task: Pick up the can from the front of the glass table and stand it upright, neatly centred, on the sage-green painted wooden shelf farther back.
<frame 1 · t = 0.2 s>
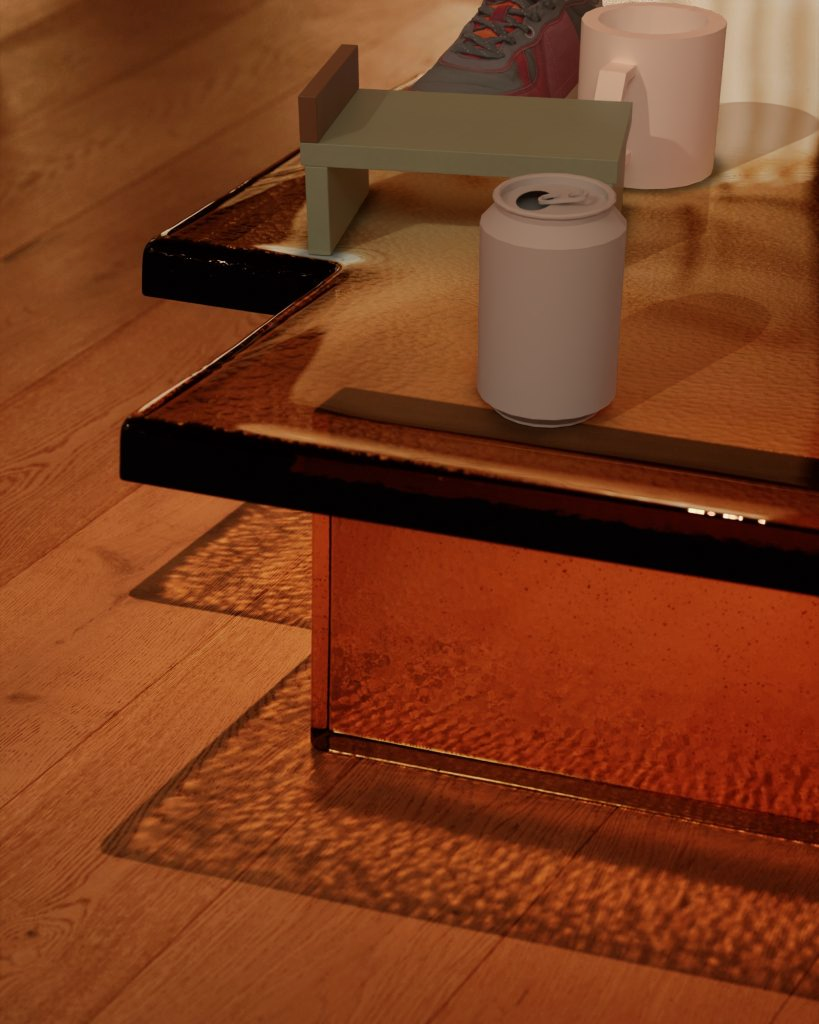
sneaker: (512, 119, 129), on the table
mug: (635, 172, 118), on the table
shelf: (470, 230, 108), on the table
can: (545, 405, 87), on the table
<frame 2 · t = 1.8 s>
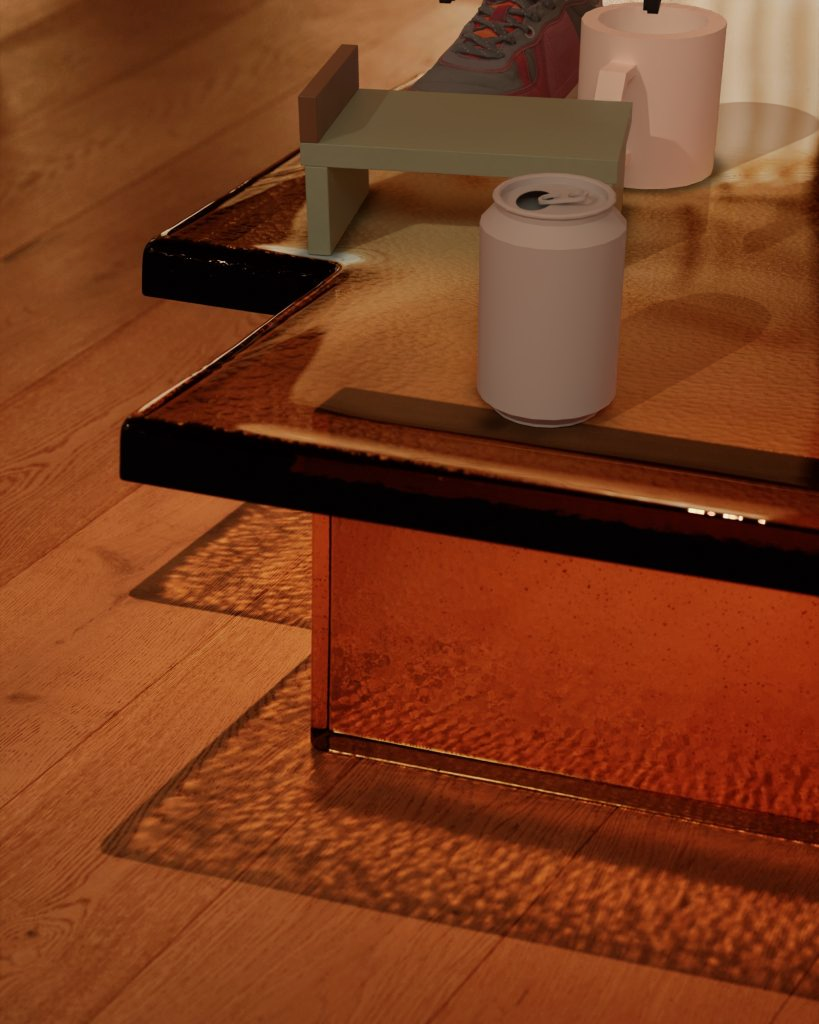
hand: (550, 1, 76), 21 cm above the table, tool pointing down, fingers open, 9 cm apart
nothing on the table moved.
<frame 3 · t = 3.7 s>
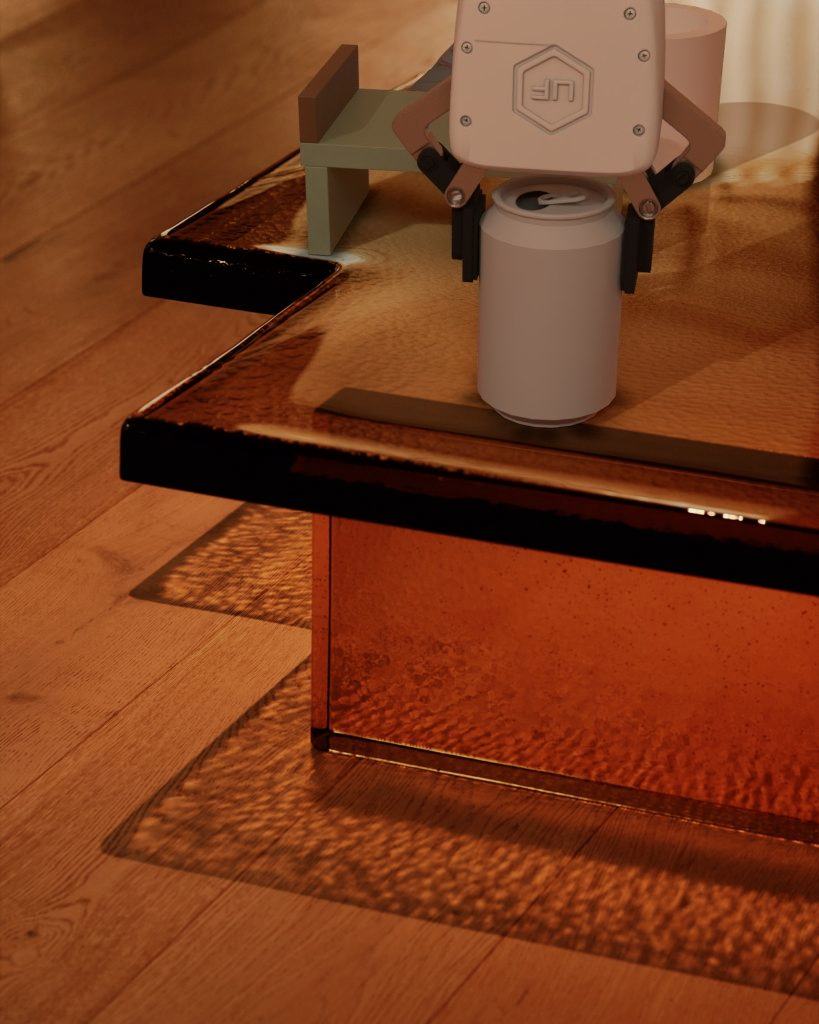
hand: (550, 276, 83), 7 cm above the table, tool pointing down, fingers closed on can, 7 cm apart
can: (545, 405, 87), on the table, touching gripper
everything else where it was.
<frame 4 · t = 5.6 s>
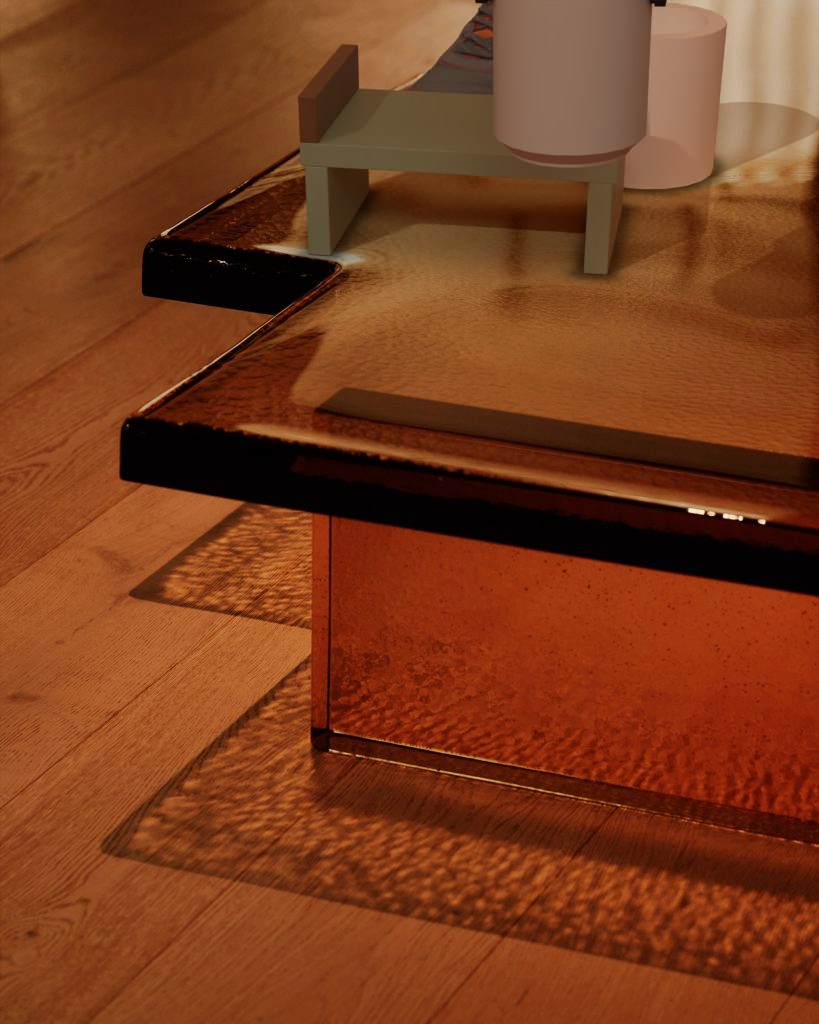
can: (569, 152, 79), point 14 cm above the table, touching gripper
everything else where it was.
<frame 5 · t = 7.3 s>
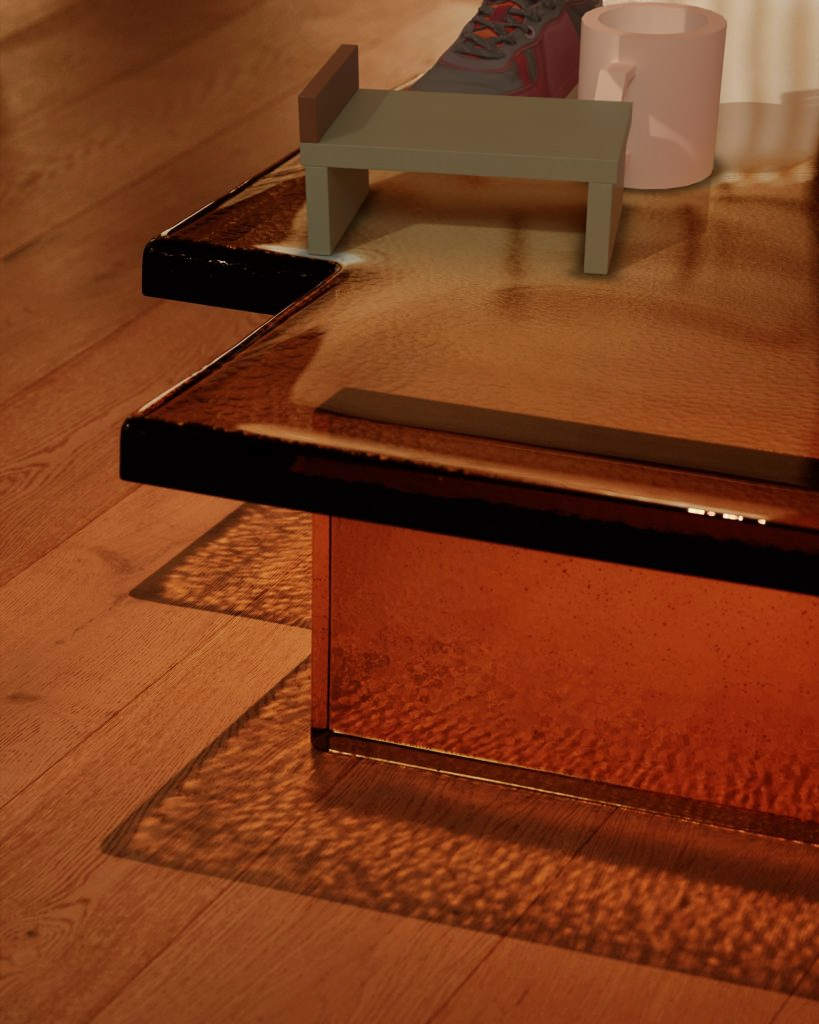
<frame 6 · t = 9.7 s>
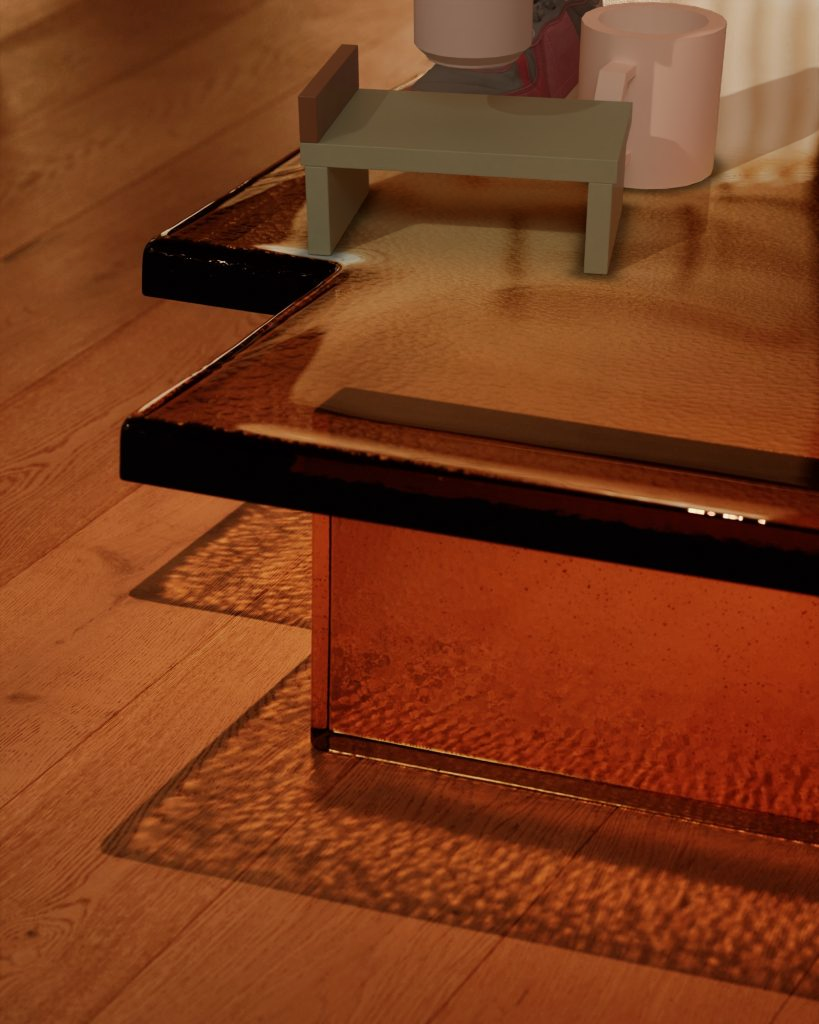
can: (472, 59, 102), point 12 cm above the table, touching gripper
everything else where it was.
when the fingers open (15 cm above the table, at t = 11.3 s): can stays where it is, resting on shelf.
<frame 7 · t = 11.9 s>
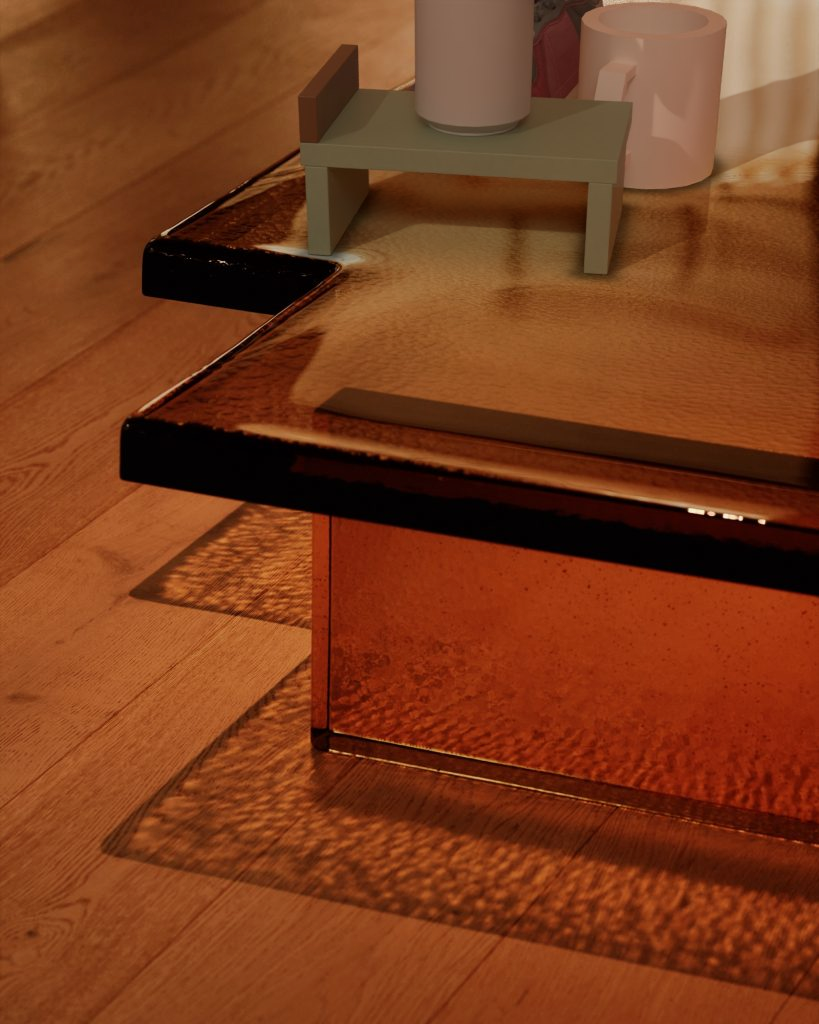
can: (472, 124, 104), point 7 cm above the table, touching shelf
everything else where it was.
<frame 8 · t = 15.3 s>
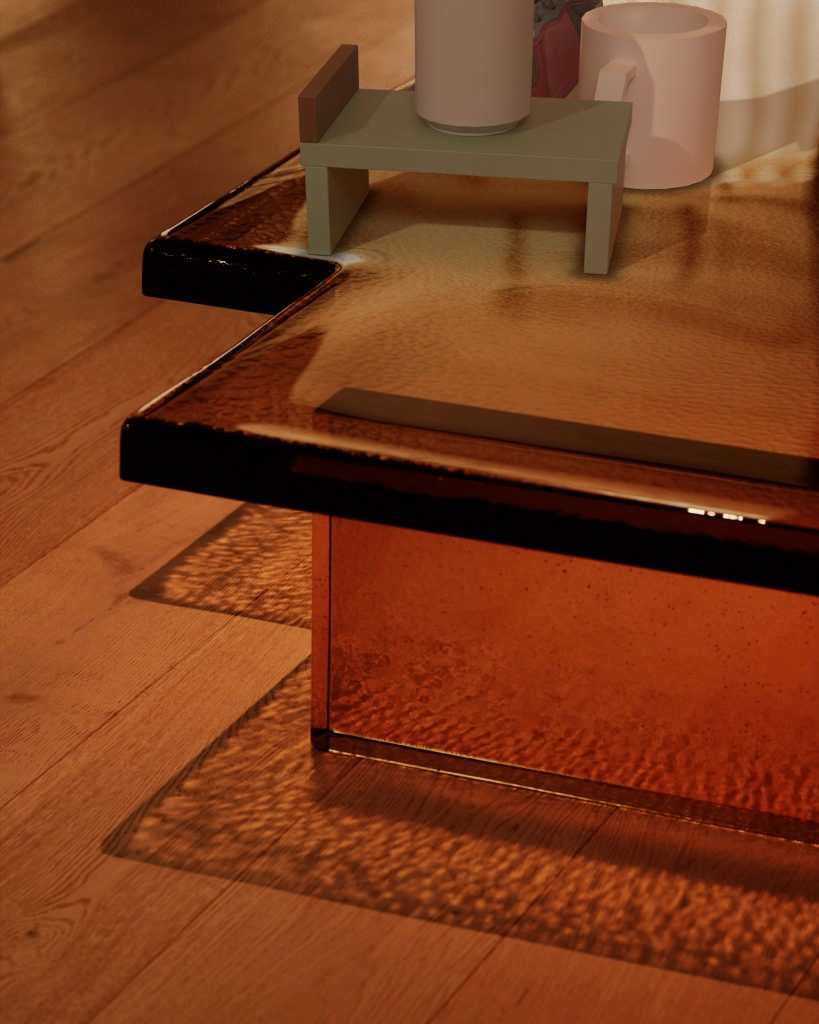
nothing on the table moved.
at the end: can inside the target area on the shelf (0.1 cm from its centre), point 7.3 cm above the shelf's base; can tilted 0°; the gripper is holding nothing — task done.
